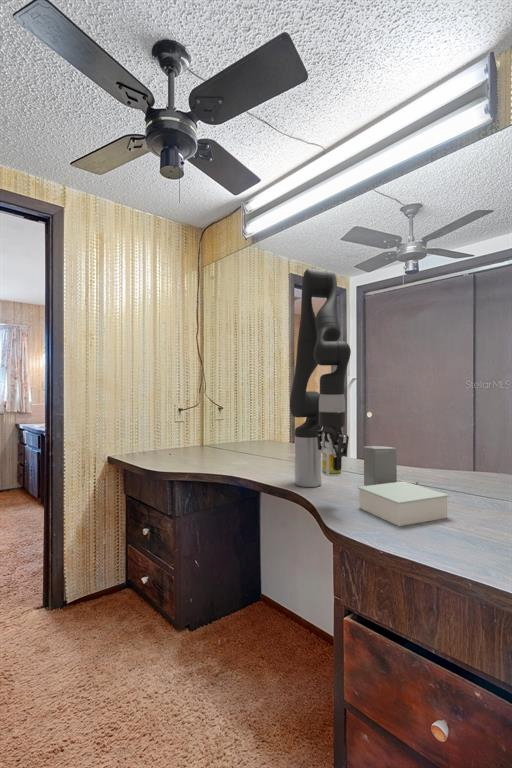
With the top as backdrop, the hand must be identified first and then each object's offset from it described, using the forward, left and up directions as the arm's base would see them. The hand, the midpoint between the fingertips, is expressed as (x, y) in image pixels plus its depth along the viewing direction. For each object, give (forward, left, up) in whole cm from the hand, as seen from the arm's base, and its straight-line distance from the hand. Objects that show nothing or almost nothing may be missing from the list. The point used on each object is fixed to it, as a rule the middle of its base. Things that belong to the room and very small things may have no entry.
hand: (331, 467), depth 114 cm
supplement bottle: (0, 0, -2) cm, 2 cm away
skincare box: (-3, +19, -11) cm, 23 cm away
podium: (+12, +14, -11) cm, 22 cm away
